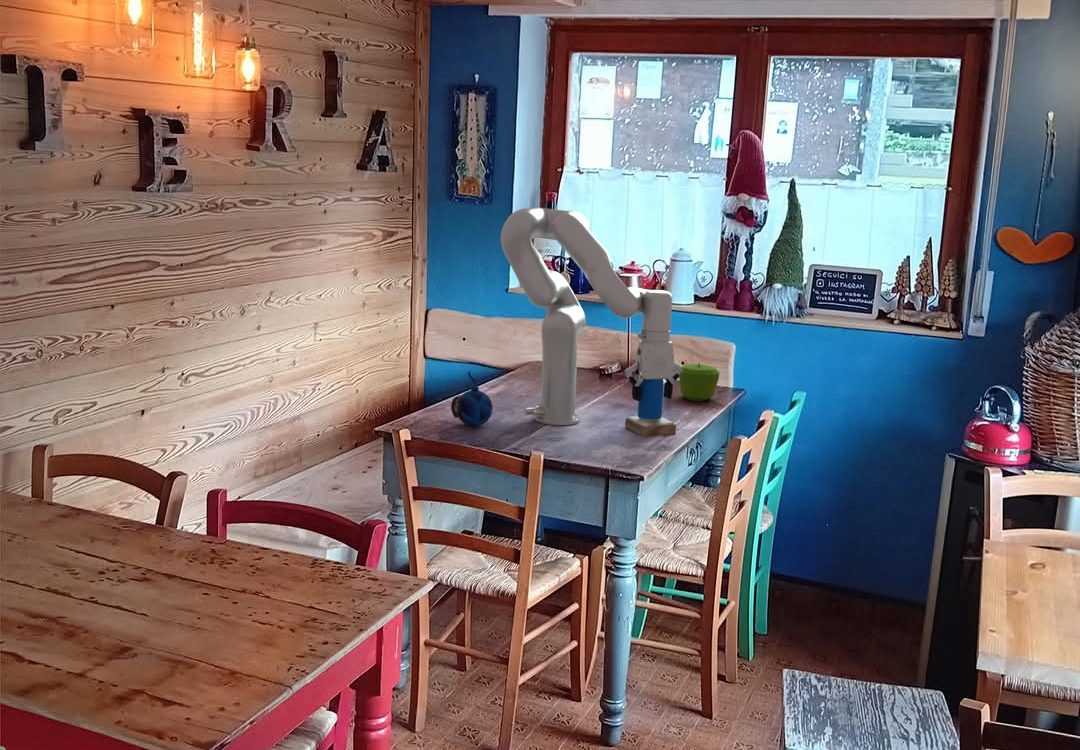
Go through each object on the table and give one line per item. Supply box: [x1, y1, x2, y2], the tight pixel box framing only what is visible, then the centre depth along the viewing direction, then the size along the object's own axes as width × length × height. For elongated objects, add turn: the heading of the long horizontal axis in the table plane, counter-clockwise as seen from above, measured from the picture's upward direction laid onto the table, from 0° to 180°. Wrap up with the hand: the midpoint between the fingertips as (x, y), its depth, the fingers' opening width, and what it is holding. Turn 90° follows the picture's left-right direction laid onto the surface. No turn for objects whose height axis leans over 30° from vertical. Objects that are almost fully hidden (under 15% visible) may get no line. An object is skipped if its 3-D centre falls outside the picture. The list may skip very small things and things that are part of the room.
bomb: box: [450, 371, 494, 427], centre depth 293 cm, size 10×11×15 cm
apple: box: [678, 363, 720, 402], centre depth 337 cm, size 12×12×11 cm
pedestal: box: [624, 415, 677, 437], centre depth 297 cm, size 10×10×3 cm
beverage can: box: [637, 379, 665, 422], centre depth 295 cm, size 6×6×12 cm
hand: (651, 398), depth 295 cm, fingers open, 9 cm apart
